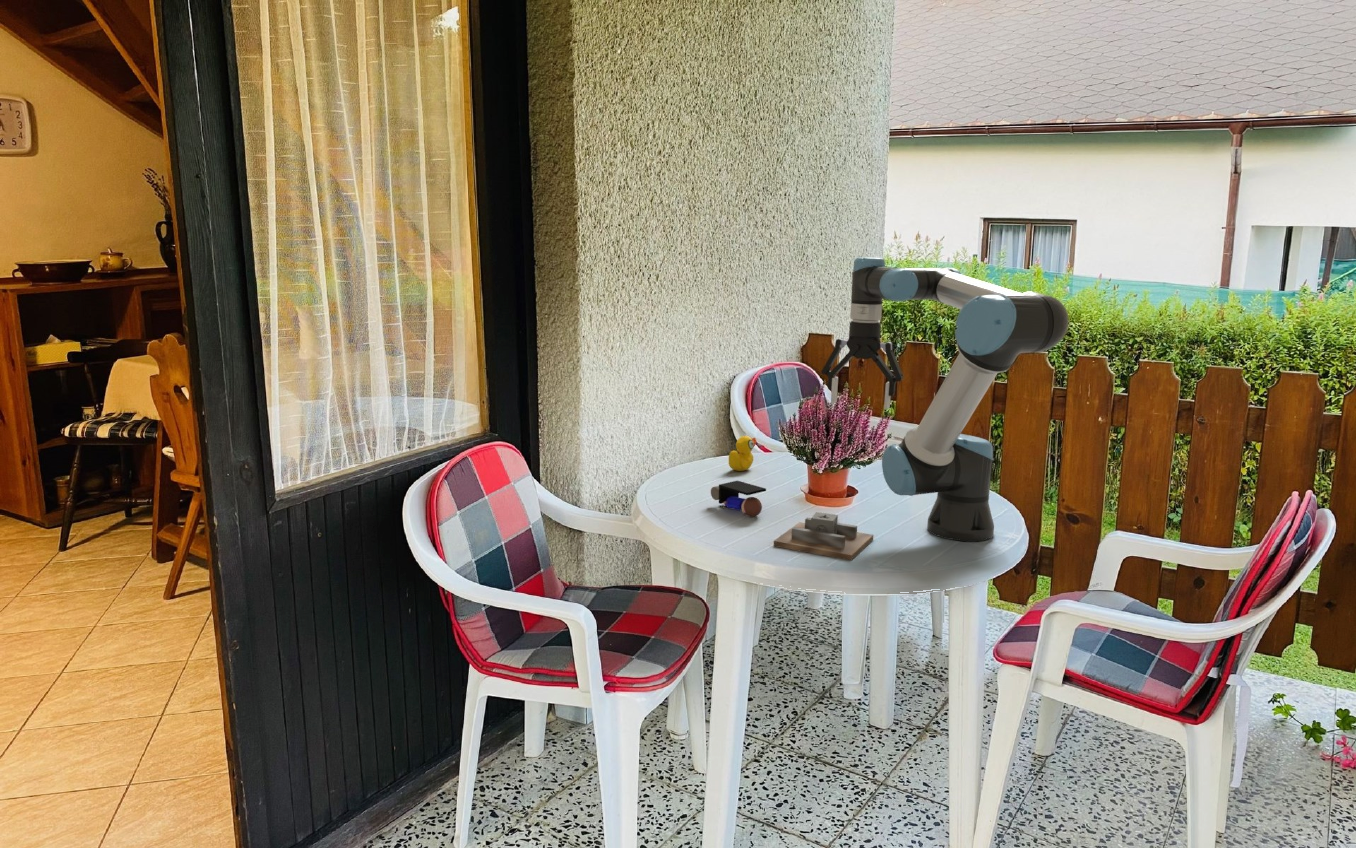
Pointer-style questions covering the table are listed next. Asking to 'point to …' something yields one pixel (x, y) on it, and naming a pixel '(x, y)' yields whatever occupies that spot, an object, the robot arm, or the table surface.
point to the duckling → (742, 454)
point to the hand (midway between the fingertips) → (859, 405)
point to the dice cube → (824, 522)
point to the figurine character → (730, 497)
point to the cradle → (825, 540)
